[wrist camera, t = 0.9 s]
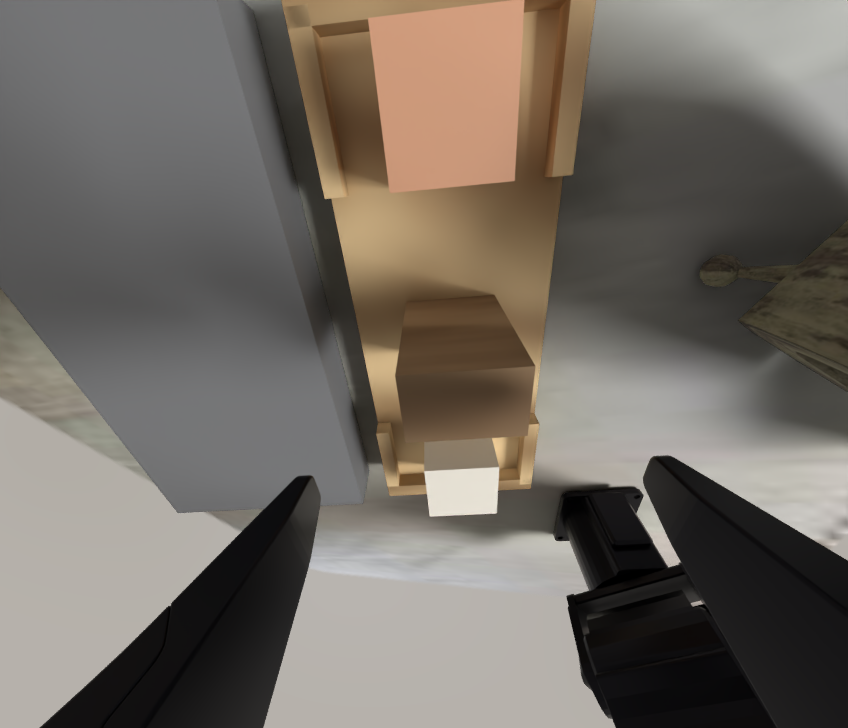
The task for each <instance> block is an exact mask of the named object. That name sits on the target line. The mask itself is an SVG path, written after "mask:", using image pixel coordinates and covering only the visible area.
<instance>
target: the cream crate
mask: <svg viewBox="0 0 848 728" xmlns="http://www.w3.org/2000/svg"><path fill="white" fill-rule="evenodd" d="M424 474H425V482H426V490H427V498H428V506H429V514H430V517H432V516H453V515H474V514H495V513H497V500H498V482H499V464H498V460H497V456H496V452H495V448H494V444H493V440H492V438H484V439H467V440H450V441H434V442H424Z"/></svg>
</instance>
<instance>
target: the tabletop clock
mask: <svg viewBox="0 0 848 728" xmlns="http://www.w3.org/2000/svg"><path fill="white" fill-rule="evenodd" d="M738 277H739V278H746V279H753V280H761V281H768V282H775V283H778V284H777V285H776V286H775V287H774V288H773V289H772V290H771V291H770V292H768V293H767V294H766V295H765V296H764V297H763V298H762V299H761V300H760V301H759V302H758V303H756V304H755V305H754V306H753V307H752V308H751V309H750V310H749V311H748V312H747V313H745V314H744V315H743V316H742V317H741V318H740V319H739V320H738V321H739V322H740V323H741V324H743V325H744V326H745V327H746V328H748V329H749V330H750V331H752V332H753V333H755V334H756V335H758V336H759V337H761V338H762V339H764V340H765V341H767V342H769V343H770V344H772V345H773V346H775V347H776V348H778V349H779V350H781V351H782V352H784V353H786V354H787V355H789V356H790V357H792V358H793V359H795V360H796V361H798V362H799V363H801V364H803V365H804V366H806V367H808V368H809V369H811V370H813V371H814V372H816V373H817V374H819V375H821V376H822V377H824V378H826V379H827V380H829V381H830V382H832V383H834V384H835V385H837V386H839V387H840V388H842V389H843V390H845V391H847V392H848V220H847V221H846V222H845V223H844V224H843V225H842V226H841V227H840V228H839V229H837V230H836V231H835V232H834V233H833V234H832V235H831V236H830V237H829V238H828V239H826V240H825V241H824V242H823V243H822V244H821V245H820V246H819V247H818V248H817V249H816V250H814V251H813V252H812V253H811V254H810V255H809V256H808V257H807V258H806V259H805V260H804V261H802V262H801V263H800V264H797V265H777V266H750V267H742V263H741V262H740V260H739V259H738V258H737V257H734V256H730V255H717V256H714V257H713V258H711V259H710V260H708V261H706V262H705V263H704V264H703V266H702V267H701V269H700V278H701V280H702V281H703V282H704V284H706V285H709V286H715V287H722V286H726V285H728V284H730V283H732V282H733V281H735V280H736V279H738Z"/></svg>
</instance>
